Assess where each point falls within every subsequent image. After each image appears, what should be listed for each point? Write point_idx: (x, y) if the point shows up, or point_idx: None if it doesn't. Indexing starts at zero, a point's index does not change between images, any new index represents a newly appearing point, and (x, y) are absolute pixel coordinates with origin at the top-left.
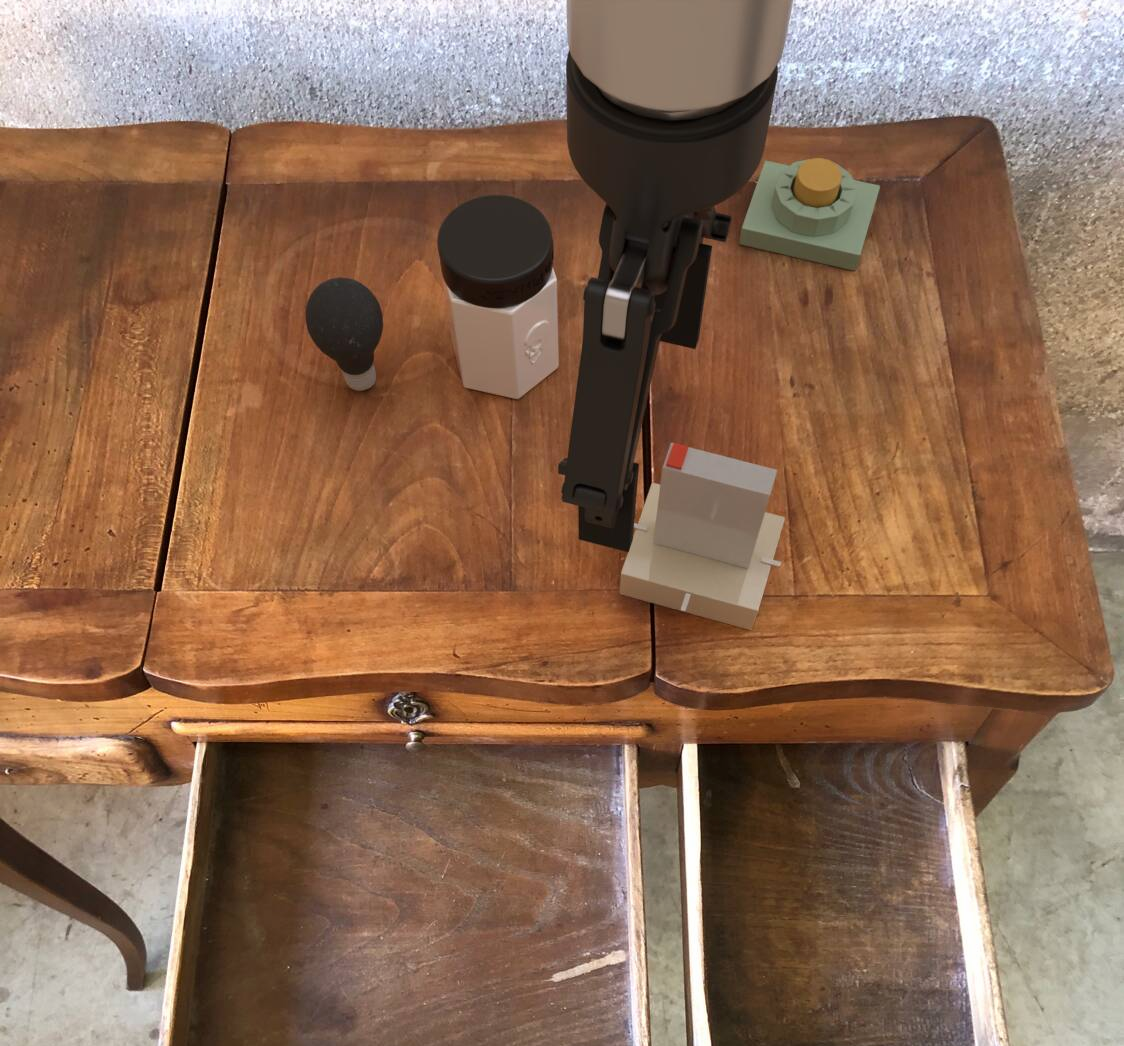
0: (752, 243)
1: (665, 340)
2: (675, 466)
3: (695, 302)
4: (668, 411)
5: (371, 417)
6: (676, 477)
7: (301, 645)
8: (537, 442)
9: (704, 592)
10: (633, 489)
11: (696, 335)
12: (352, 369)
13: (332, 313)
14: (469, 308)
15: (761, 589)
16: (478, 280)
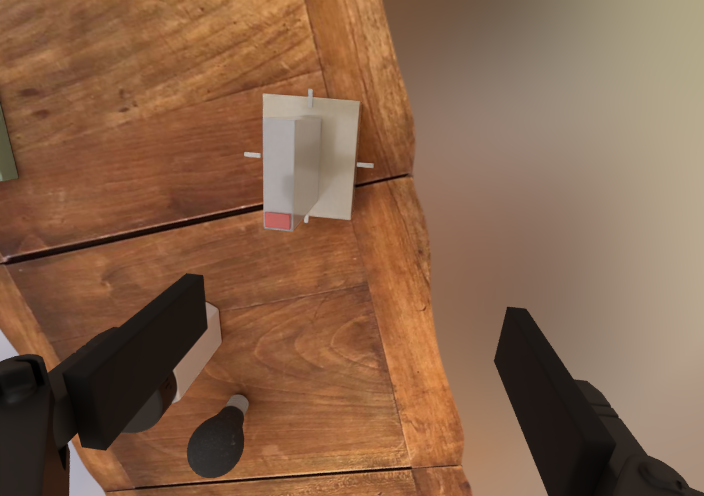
0: (12, 167)
1: (204, 312)
2: (290, 221)
3: (158, 324)
4: (188, 204)
5: (263, 388)
6: (295, 214)
7: (433, 394)
8: (247, 289)
9: (352, 151)
10: (594, 412)
11: (190, 286)
12: (242, 419)
13: (221, 466)
14: (180, 386)
15: (338, 102)
16: (160, 401)
